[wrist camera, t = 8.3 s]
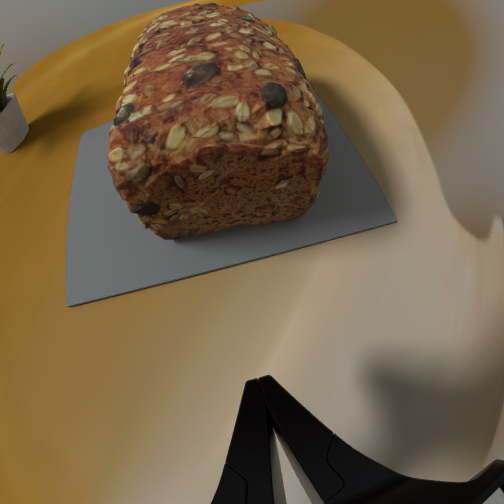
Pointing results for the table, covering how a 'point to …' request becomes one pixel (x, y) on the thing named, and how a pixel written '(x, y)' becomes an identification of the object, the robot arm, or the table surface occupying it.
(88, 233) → the serving mat
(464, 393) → the table surface
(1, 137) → the house plant
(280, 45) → the bread
